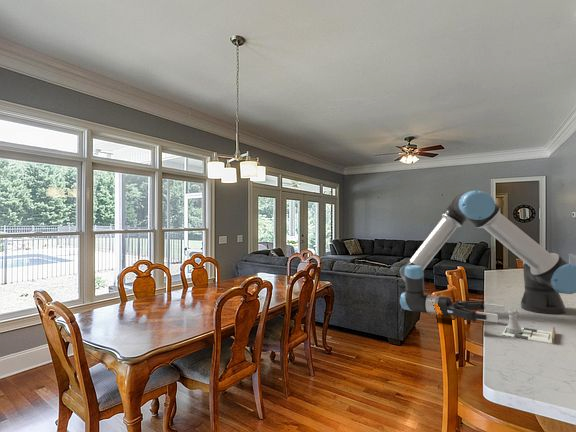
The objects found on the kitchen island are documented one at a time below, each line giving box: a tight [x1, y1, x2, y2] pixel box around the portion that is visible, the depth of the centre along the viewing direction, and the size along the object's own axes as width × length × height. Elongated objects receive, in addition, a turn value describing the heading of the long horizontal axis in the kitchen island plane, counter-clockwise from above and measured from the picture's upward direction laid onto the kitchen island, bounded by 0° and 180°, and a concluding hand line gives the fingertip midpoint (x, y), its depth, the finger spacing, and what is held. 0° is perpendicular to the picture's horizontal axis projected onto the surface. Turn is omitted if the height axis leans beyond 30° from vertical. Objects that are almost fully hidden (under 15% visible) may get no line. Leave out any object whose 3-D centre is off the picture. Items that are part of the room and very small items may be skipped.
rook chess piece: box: [506, 308, 523, 335], centre depth 114 cm, size 4×4×8 cm
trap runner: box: [501, 324, 556, 345], centre depth 111 cm, size 12×14×2 cm
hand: (501, 313), depth 116 cm, fingers open, 13 cm apart
